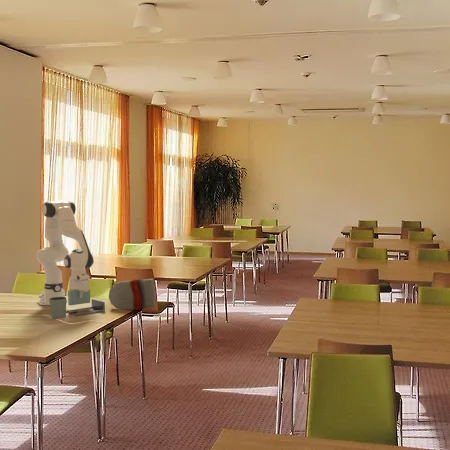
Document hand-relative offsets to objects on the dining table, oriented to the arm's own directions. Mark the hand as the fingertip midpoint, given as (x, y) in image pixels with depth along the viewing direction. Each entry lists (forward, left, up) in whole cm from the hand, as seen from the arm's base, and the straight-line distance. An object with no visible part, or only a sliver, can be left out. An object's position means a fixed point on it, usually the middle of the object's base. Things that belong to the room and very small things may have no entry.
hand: (79, 297), depth 416 cm
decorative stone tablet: (+14, +30, -10) cm, 35 cm away
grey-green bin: (+5, -17, -10) cm, 20 cm away
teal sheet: (0, 0, -4) cm, 4 cm away
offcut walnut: (+7, 0, -9) cm, 11 cm away
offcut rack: (+4, +1, -10) cm, 11 cm away
